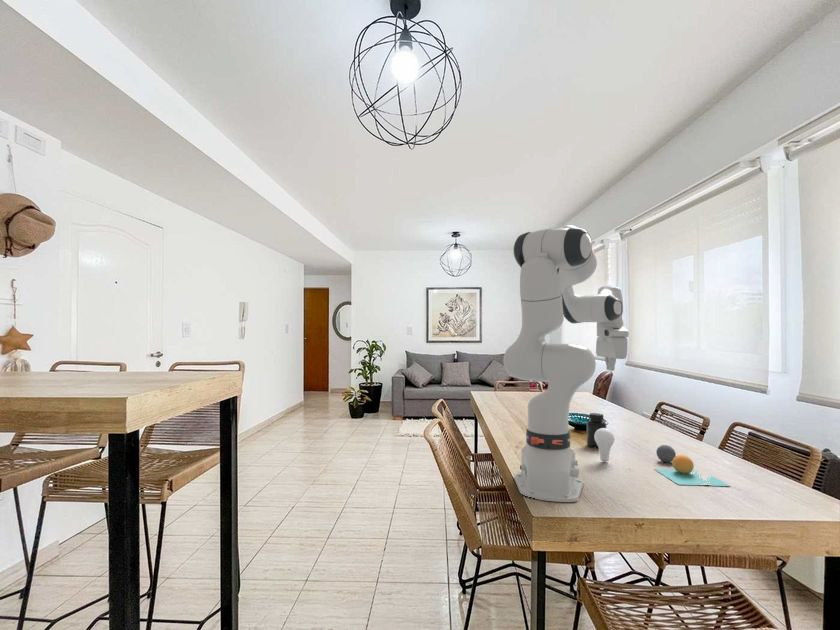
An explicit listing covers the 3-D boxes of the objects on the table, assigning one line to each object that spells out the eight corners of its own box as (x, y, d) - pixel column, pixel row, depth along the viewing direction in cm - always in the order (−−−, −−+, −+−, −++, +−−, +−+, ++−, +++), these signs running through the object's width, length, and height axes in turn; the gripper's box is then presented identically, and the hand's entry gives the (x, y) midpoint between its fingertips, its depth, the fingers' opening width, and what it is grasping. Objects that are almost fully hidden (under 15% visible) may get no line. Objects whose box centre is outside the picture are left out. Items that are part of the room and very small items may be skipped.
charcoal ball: (664, 449, 144) (668, 465, 141) (651, 445, 143) (654, 462, 140) (677, 445, 139) (681, 461, 136) (663, 441, 138) (667, 458, 135)
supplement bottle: (585, 443, 163) (584, 412, 163) (603, 444, 162) (603, 412, 162) (589, 448, 156) (589, 415, 157) (609, 449, 155) (608, 416, 156)
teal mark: (730, 486, 117) (730, 486, 117) (678, 485, 118) (678, 484, 118) (701, 470, 131) (701, 470, 131) (654, 469, 132) (654, 468, 132)
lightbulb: (609, 466, 134) (609, 431, 135) (591, 461, 139) (590, 428, 140) (618, 462, 138) (617, 428, 139) (599, 458, 143) (599, 425, 144)
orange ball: (683, 462, 132) (690, 478, 128) (666, 459, 132) (672, 476, 127) (692, 452, 128) (700, 469, 124) (675, 450, 128) (682, 466, 124)
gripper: (591, 332, 163) (591, 368, 162) (611, 331, 142) (612, 372, 142) (608, 332, 162) (608, 368, 162) (630, 331, 142) (631, 373, 141)
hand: (610, 370), depth 152 cm, fingers closed
